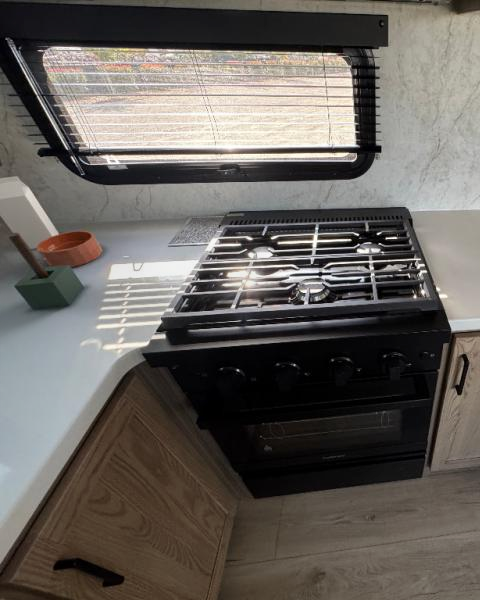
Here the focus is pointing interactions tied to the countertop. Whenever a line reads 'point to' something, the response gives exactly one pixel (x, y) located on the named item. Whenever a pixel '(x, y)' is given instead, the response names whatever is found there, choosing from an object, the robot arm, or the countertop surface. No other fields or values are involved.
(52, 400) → the countertop surface
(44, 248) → the bowl
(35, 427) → the countertop surface
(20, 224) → the milk carton
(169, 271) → the countertop surface
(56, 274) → the holder
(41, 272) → the stick
